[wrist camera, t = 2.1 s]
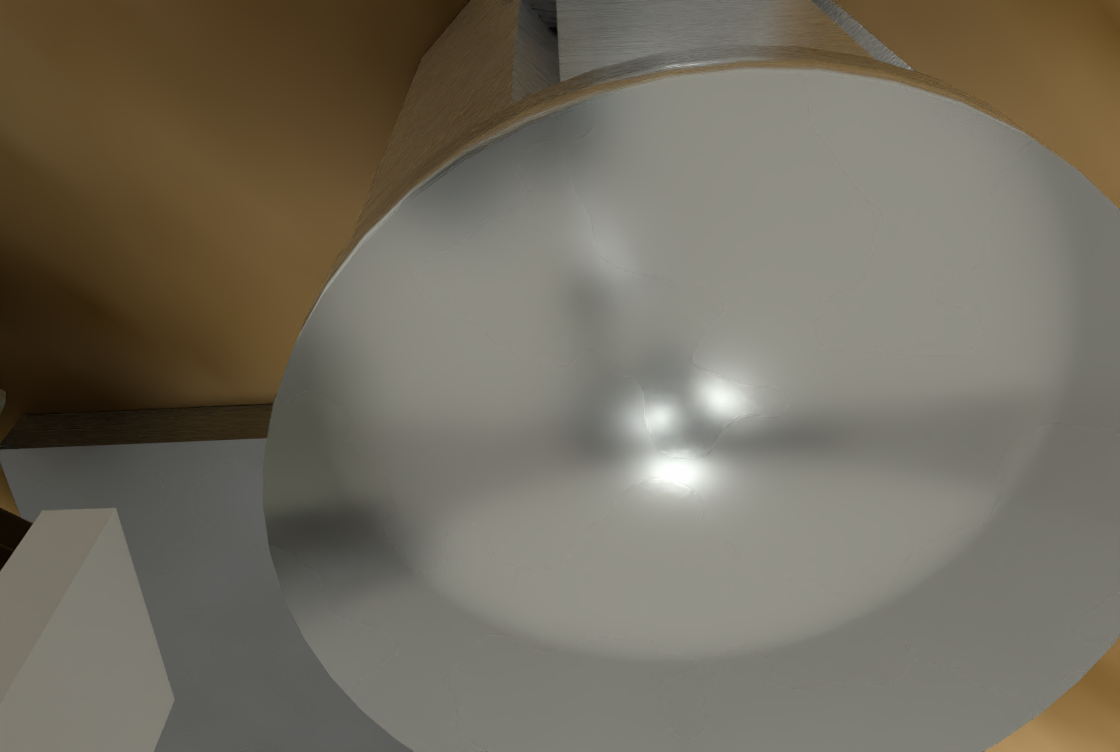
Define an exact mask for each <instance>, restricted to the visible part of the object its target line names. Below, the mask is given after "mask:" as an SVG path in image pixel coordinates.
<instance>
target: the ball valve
mask: <svg viewBox="0 0 1120 752" xmlns="http://www.w3.org/2000/svg"><path fill="white" fill-rule="evenodd" d="M5 402H6V393H5V391H3V390H1V389H0V415H1V413H2V410H3V408H4V405H5ZM32 525H33V523H31V522H29V521H27V520H25V519H23V518H21V517H18V516H16V515H14V514H12V513H10V512H8V511H6V510H4V509H2V508H0V571H1V570H2V568H3V567H4V565H5V564H6V562H7V561H8V560H9V558H10V557H11V555H12V554H13V552H14V551H15V549H16V548H17V546H18V545H19V544H20V542H21V541H22V539H23V538H24V536H25V535H26V533H27V532H28V530H29V529H30V528H31V526H32Z"/></svg>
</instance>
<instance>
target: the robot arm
mask: <svg viewBox="0 0 1120 752" xmlns="http://www.w3.org/2000/svg"><path fill="white" fill-rule="evenodd" d="M174 700H175V699H174V696H173V693H172V689H171V686H170V683H169V680H168V676H167V673H166V670H165V667H164V663H163V660H162V657H161V654H160V650H159V647H158V644H157V640H156V637H155V634H154V631H153V627H152V624H151V621H150V618H149V614H148V611H147V608H146V605H145V601H144V598H143V595H142V592H141V588H140V585H139V582H138V579H137V575H136V572H135V569H134V565H133V562H132V559H131V556H130V552H129V549H128V546H127V543H126V539H125V536H124V533H123V530H122V526H121V523H120V520H119V517H118V513H117V510H116V508H97V509H71V510H45V511H41V513H40V514H39V516H38V517H37V519H36V520H35V522H34V523H33V525H32V526H31V528H30V529H29V530H28V532H27V533H26V535H25V536H24V538H23V539H22V541H21V542H20V544H19V545H18V546H17V548H16V549H15V551H14V552H13V554H12V555H11V557H10V558H9V560H8V561H7V562H6V564H5V565H4V567H3V568H2V570H1V571H0V752H154V750H155V747H156V745H157V742H158V740H159V737H160V735H161V732H162V730H163V727H164V725H165V723H166V720H167V718H168V715H169V713H170V710H171V708H172V705H173V703H174Z"/></svg>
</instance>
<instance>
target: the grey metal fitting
mask: <svg viewBox="0 0 1120 752" xmlns="http://www.w3.org/2000/svg"><path fill="white" fill-rule="evenodd" d="M263 509H264V516H265V523H266V530H267V537H268V544H269V551H270V555H271V558H272V561H273V564H274V568H275V571H276V574H277V577H278V580H279V583H280V587H281V590H282V593H283V596H284V599H285V601H286V603H287V605H288V607H289V609H290V611H291V613H292V615H293V617H294V619H295V621H296V623H297V625H298V627H299V629H300V631H301V633H302V635H303V637H304V639H305V640H306V642H307V643H308V645H309V646H310V648H311V649H312V651H313V652H314V653H315V655H316V656H317V658H318V659H319V661H320V662H321V664H322V665H323V666H324V668H325V669H326V671H327V672H328V674H329V675H330V677H331V678H332V679H333V680H334V681H335V682H336V683H337V684H338V685H339V686H340V687H341V689H342V690H343V691H344V692H345V693H346V694H347V695H348V696H349V697H350V698H351V699H352V701H353V702H354V703H355V704H356V705H357V706H358V707H359V708H360V709H361V710H362V711H363V712H364V713H365V714H366V715H368V716H369V717H370V718H371V719H372V720H374V721H375V722H376V723H377V724H378V725H379V726H381V727H382V728H383V729H384V730H385V731H387V732H388V733H389V734H390V735H391V736H393V737H394V738H395V739H396V740H397V741H399V742H400V743H402V744H403V745H405V746H406V747H408V748H410V749H411V750H413V751H414V752H983V751H985V750H987V749H988V748H990V747H992V746H994V745H995V744H997V743H999V742H1000V741H1002V740H1003V739H1005V738H1006V737H1007V736H1009V735H1010V734H1012V733H1013V732H1015V731H1016V730H1018V729H1019V728H1020V727H1022V726H1023V725H1025V724H1026V723H1028V722H1029V721H1031V720H1032V719H1034V718H1035V717H1036V716H1038V715H1039V714H1040V713H1042V712H1043V711H1044V710H1045V709H1046V708H1048V707H1049V706H1050V705H1051V704H1052V703H1053V702H1055V701H1056V700H1057V699H1058V698H1059V697H1060V696H1062V695H1063V694H1064V693H1065V692H1066V691H1068V690H1069V689H1070V688H1071V687H1072V686H1073V685H1075V684H1076V683H1077V682H1078V681H1079V680H1080V679H1081V678H1082V677H1083V676H1084V675H1085V674H1086V673H1087V672H1088V671H1089V669H1090V668H1091V667H1092V666H1093V665H1094V664H1095V663H1096V662H1097V661H1098V660H1099V659H1100V658H1101V657H1102V656H1103V655H1104V654H1105V653H1106V652H1107V651H1108V649H1109V648H1110V647H1111V646H1112V645H1113V644H1114V643H1115V641H1116V640H1117V639H1118V637H1119V636H1120V210H1119V209H1118V208H1117V207H1116V206H1115V205H1114V204H1113V203H1112V202H1111V201H1110V200H1109V199H1108V198H1107V197H1106V196H1105V195H1104V194H1103V193H1102V192H1101V191H1100V190H1099V189H1098V188H1097V187H1096V186H1095V185H1094V184H1093V183H1092V182H1090V181H1089V180H1088V179H1087V178H1086V177H1085V176H1084V175H1083V174H1082V173H1081V172H1080V171H1079V170H1077V169H1076V168H1075V167H1073V166H1072V165H1071V164H1070V163H1068V162H1067V161H1066V160H1064V159H1063V158H1062V157H1061V156H1059V155H1058V154H1057V153H1056V152H1054V151H1053V150H1052V149H1050V148H1049V147H1048V146H1047V145H1045V144H1044V143H1043V142H1041V141H1040V140H1039V139H1038V138H1036V137H1035V136H1033V135H1032V134H1030V133H1029V132H1028V131H1026V130H1025V129H1023V128H1022V127H1020V126H1019V125H1017V124H1016V123H1015V122H1013V121H1012V120H1010V119H1009V118H1007V117H1006V116H1004V115H1003V114H1001V113H1000V112H999V111H997V110H996V109H994V108H993V107H991V106H990V105H988V104H987V103H985V102H983V101H981V100H978V99H976V98H974V97H972V96H970V95H968V94H966V93H964V92H962V91H960V90H958V89H956V88H953V87H951V86H949V85H947V84H945V83H943V82H941V81H939V80H937V79H935V78H933V77H931V76H927V75H924V74H921V73H918V72H915V71H914V70H913V69H912V68H911V67H909V66H908V65H907V64H906V63H905V62H904V61H902V60H901V59H900V58H899V57H898V56H897V55H895V54H894V53H893V52H892V51H891V50H890V49H888V48H887V47H886V46H885V45H884V44H883V43H881V42H880V41H879V40H878V39H877V38H876V37H874V36H873V35H872V34H871V33H870V32H869V31H868V30H866V29H865V28H864V27H863V26H862V25H861V24H859V23H858V22H857V21H856V20H855V19H854V18H852V17H851V16H850V15H849V14H848V13H847V12H845V11H844V10H843V9H842V8H841V7H840V6H838V5H837V4H836V3H835V2H834V1H833V0H470V1H469V3H468V4H467V5H466V6H465V7H464V9H463V10H462V11H461V12H460V13H459V14H458V16H457V17H456V18H455V19H454V20H453V22H452V23H451V24H450V25H449V26H448V28H447V29H446V30H445V31H444V32H443V33H442V35H441V36H440V37H439V38H438V39H437V41H436V42H435V43H434V44H433V45H432V47H431V48H430V49H429V50H428V51H427V52H426V54H425V55H424V56H423V57H422V58H421V61H420V63H419V66H418V69H417V71H416V74H415V76H414V79H413V81H412V84H411V86H410V89H409V91H408V94H407V97H406V99H405V102H404V104H403V107H402V109H401V112H400V114H399V117H398V120H397V122H396V125H395V127H394V130H393V132H392V135H391V137H390V140H389V142H388V145H387V148H386V150H385V153H384V155H383V158H382V160H381V163H380V165H379V168H378V170H377V173H376V176H375V178H374V181H373V183H372V186H371V188H370V191H369V193H368V196H367V199H366V201H365V204H364V206H363V209H362V211H361V214H360V216H359V219H358V221H357V224H356V227H355V229H354V232H353V234H352V237H351V239H350V241H349V242H348V244H347V245H346V246H345V248H344V249H343V250H342V251H341V253H340V254H339V255H338V257H337V259H336V261H335V263H334V264H333V266H332V268H331V270H330V272H329V274H328V275H327V277H326V279H325V281H324V283H323V284H322V286H321V288H320V290H319V292H318V294H317V295H316V297H315V299H314V301H313V303H312V305H311V307H310V309H309V312H308V314H307V317H306V319H305V321H304V324H303V326H302V329H301V331H300V333H299V336H298V338H297V341H296V343H295V345H294V348H293V350H292V353H291V356H290V358H289V361H288V364H287V367H286V369H285V372H284V375H283V378H282V381H281V383H280V386H279V389H278V392H277V394H276V397H275V400H274V403H273V408H272V413H271V419H270V424H269V429H268V435H267V440H266V445H265V451H264V470H263Z"/></svg>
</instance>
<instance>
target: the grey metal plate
mask: <svg viewBox="0 0 1120 752" xmlns="http://www.w3.org/2000/svg"><path fill="white" fill-rule="evenodd" d="M272 408H273V404H270V405H247V406H223V407H200V408H176V409H153V410H130V411H106V412H83V413H60V414H36V415H22V417H21V418H20V419H19V421H18V422H17V423H16V424H15V426H14V427H13V428H12V429H11V431H10V432H9V433H8V435H7V436H6V437H5V438H4V440H3V441H2V442H1V444H0V463H1V466H2V468H3V471H4V474H5V476H6V479H7V482H8V484H9V487H10V490H11V492H12V495H13V498H14V500H15V503H16V506H17V508H18V511H19V514H20V517H21V518H23V519H25V520H27V521H29V522H31V523H34V522H35V520H36V519H37V517H38V516H39V514H40V513H41V511H45V510H71V509H97V508H116V510H117V513H118V517H119V520H120V523H121V526H122V530H123V533H124V536H125V539H126V543H127V546H128V549H129V552H130V556H131V559H132V562H133V565H134V569H135V572H136V575H137V579H138V582H139V585H140V588H141V592H142V595H143V598H144V601H145V605H146V608H147V611H148V614H149V618H150V621H151V624H152V627H153V631H154V634H155V637H156V640H157V644H158V647H159V650H160V654H161V657H162V660H163V663H164V667H165V670H166V673H167V676H168V680H169V683H170V686H171V689H172V693H173V696H174V699H175V700H174V703H173V705H172V708H171V710H170V713H169V715H168V718H167V720H166V723H165V725H164V727H163V730H162V732H161V735H160V737H159V740H158V742H157V745H156V747H155V750H154V752H414V751H413V750H411V749H410V748H408V747H406V746H405V745H403V744H402V743H400V742H399V741H397V740H396V739H395V738H394V737H393V736H391V735H390V734H389V733H388V732H387V731H385V730H384V729H383V728H382V727H381V726H379V725H378V724H377V723H376V722H375V721H374V720H372V719H371V718H370V717H369V716H368V715H366V714H365V713H364V712H363V711H362V710H361V709H360V708H359V707H358V706H357V705H356V704H355V703H354V702H353V701H352V699H351V698H350V697H349V696H348V695H347V694H346V693H345V692H344V691H343V690H342V689H341V687H340V686H339V685H338V684H337V683H336V682H335V681H334V680H333V679H332V678H331V677H330V675H329V674H328V672H327V671H326V669H325V668H324V666H323V665H322V664H321V662H320V661H319V659H318V658H317V656H316V655H315V653H314V652H313V651H312V649H311V648H310V646H309V645H308V643H307V642H306V640H305V639H304V637H303V635H302V633H301V631H300V629H299V627H298V625H297V623H296V621H295V619H294V617H293V615H292V613H291V611H290V609H289V607H288V605H287V603H286V601H285V599H284V596H283V593H282V590H281V587H280V583H279V580H278V577H277V574H276V571H275V568H274V564H273V561H272V558H271V555H270V551H269V544H268V537H267V530H266V523H265V516H264V509H263V470H264V451H265V445H266V440H267V435H268V429H269V424H270V419H271V413H272Z"/></svg>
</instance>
